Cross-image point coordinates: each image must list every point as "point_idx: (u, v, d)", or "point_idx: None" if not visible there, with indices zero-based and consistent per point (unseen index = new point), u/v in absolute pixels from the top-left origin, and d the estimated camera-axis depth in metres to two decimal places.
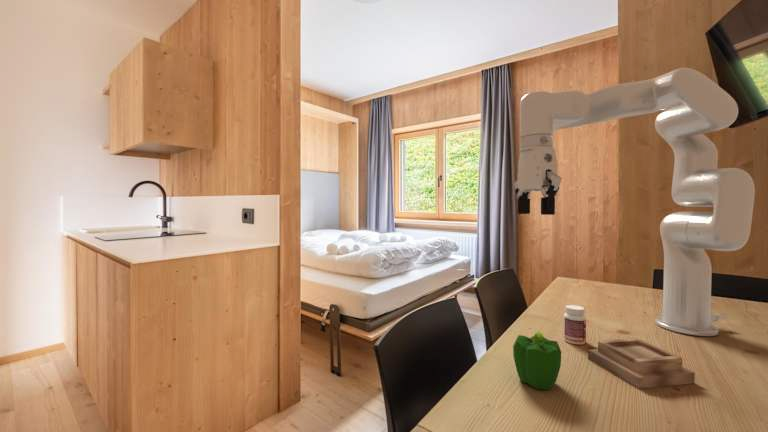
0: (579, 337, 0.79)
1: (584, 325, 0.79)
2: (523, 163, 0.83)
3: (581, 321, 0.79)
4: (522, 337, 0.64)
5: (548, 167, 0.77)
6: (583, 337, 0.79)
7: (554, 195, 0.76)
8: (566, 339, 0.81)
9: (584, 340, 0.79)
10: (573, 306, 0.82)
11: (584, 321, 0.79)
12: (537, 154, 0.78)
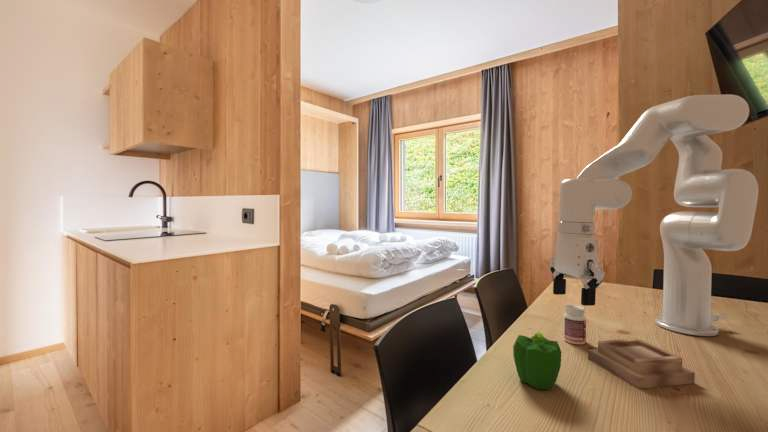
0: (579, 337, 0.79)
1: (584, 325, 0.79)
2: (561, 246, 0.81)
3: (581, 321, 0.79)
4: (522, 337, 0.64)
5: (590, 257, 0.76)
6: (583, 337, 0.79)
7: (596, 287, 0.75)
8: (566, 339, 0.81)
9: (584, 340, 0.79)
10: (573, 306, 0.82)
11: (584, 321, 0.79)
12: (578, 243, 0.76)
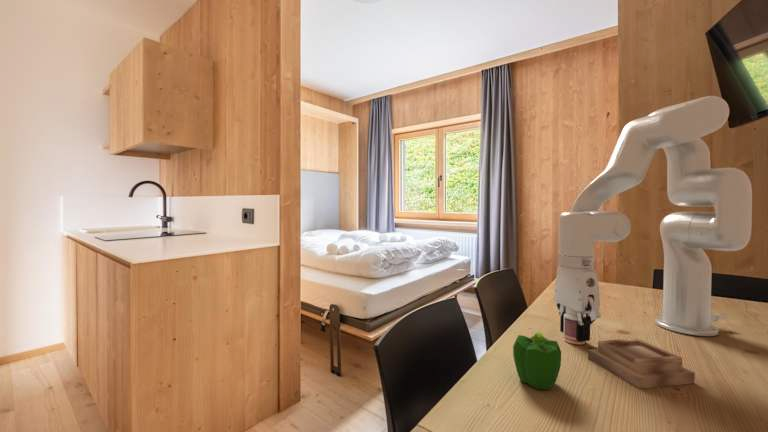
0: None
1: None
2: (562, 279, 0.82)
3: None
4: (522, 337, 0.64)
5: (590, 292, 0.76)
6: None
7: (589, 324, 0.77)
8: (566, 339, 0.81)
9: None
10: None
11: None
12: (579, 278, 0.77)
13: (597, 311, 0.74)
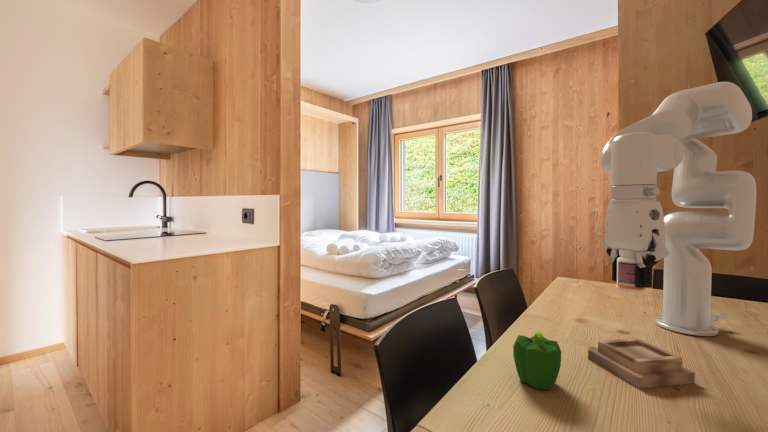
0: None
1: None
2: (616, 216, 0.68)
3: None
4: (522, 337, 0.64)
5: (655, 226, 0.62)
6: None
7: (652, 267, 0.64)
8: (621, 287, 0.67)
9: None
10: None
11: None
12: (640, 210, 0.63)
13: (664, 248, 0.61)
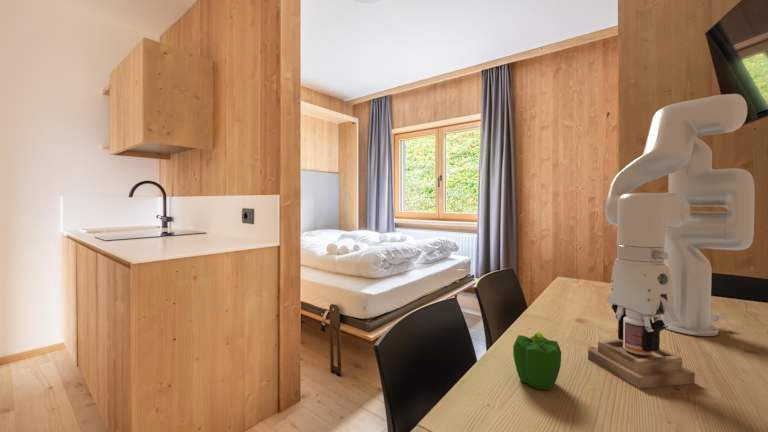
0: None
1: None
2: (622, 275, 0.67)
3: None
4: (522, 337, 0.64)
5: (663, 291, 0.61)
6: None
7: None
8: (628, 348, 0.66)
9: None
10: None
11: None
12: (648, 273, 0.62)
13: (673, 314, 0.60)
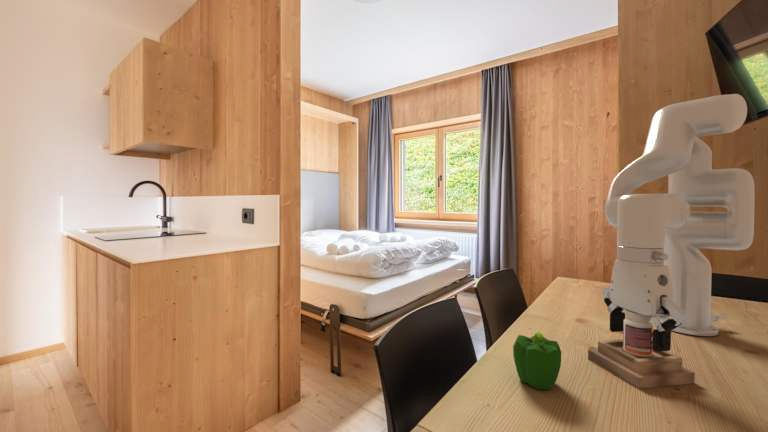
0: (645, 348, 0.64)
1: (651, 333, 0.65)
2: (622, 276, 0.67)
3: (649, 329, 0.64)
4: (522, 337, 0.64)
5: (663, 292, 0.61)
6: (650, 348, 0.65)
7: (672, 329, 0.60)
8: (628, 350, 0.66)
9: (651, 352, 0.65)
10: None
11: (651, 329, 0.65)
12: (648, 274, 0.62)
13: (679, 308, 0.59)
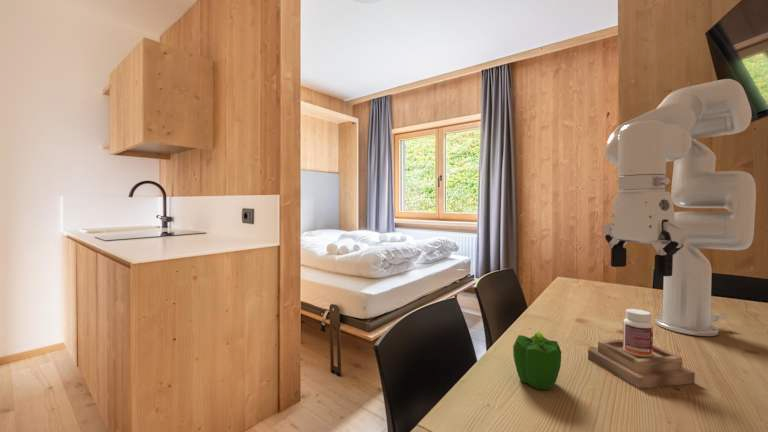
0: (645, 348, 0.64)
1: (651, 333, 0.65)
2: (623, 207, 0.67)
3: (648, 329, 0.64)
4: (522, 337, 0.64)
5: (665, 217, 0.61)
6: (650, 348, 0.65)
7: (674, 253, 0.60)
8: (628, 350, 0.66)
9: (651, 352, 0.65)
10: (635, 310, 0.67)
11: (651, 328, 0.65)
12: (649, 200, 0.62)
13: (681, 230, 0.58)
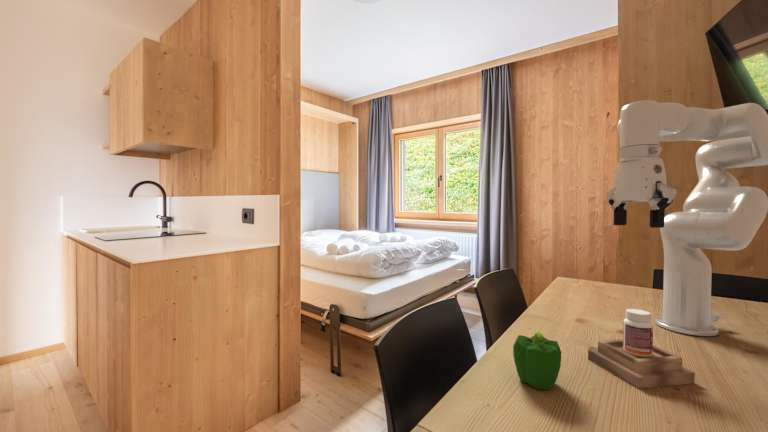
0: (645, 348, 0.64)
1: (651, 333, 0.65)
2: (624, 173, 0.80)
3: (648, 329, 0.64)
4: (522, 337, 0.64)
5: (658, 178, 0.74)
6: (650, 348, 0.65)
7: (665, 207, 0.74)
8: (628, 350, 0.66)
9: (651, 352, 0.65)
10: (635, 310, 0.67)
11: (651, 329, 0.65)
12: (645, 165, 0.75)
13: (671, 188, 0.72)
